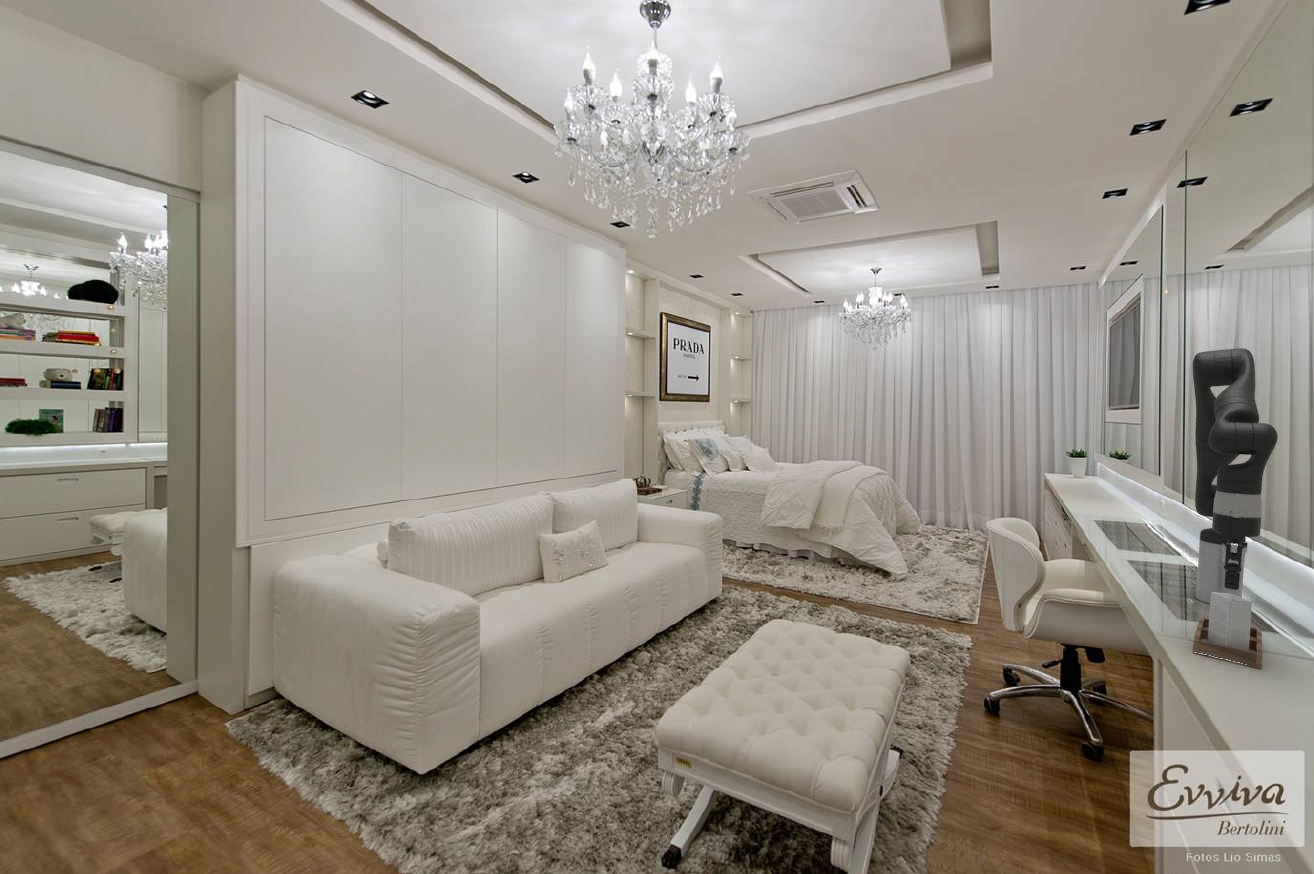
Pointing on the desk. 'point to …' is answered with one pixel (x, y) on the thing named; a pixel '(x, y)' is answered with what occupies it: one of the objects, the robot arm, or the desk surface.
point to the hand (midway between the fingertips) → (1232, 584)
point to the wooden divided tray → (1233, 654)
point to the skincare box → (1229, 620)
